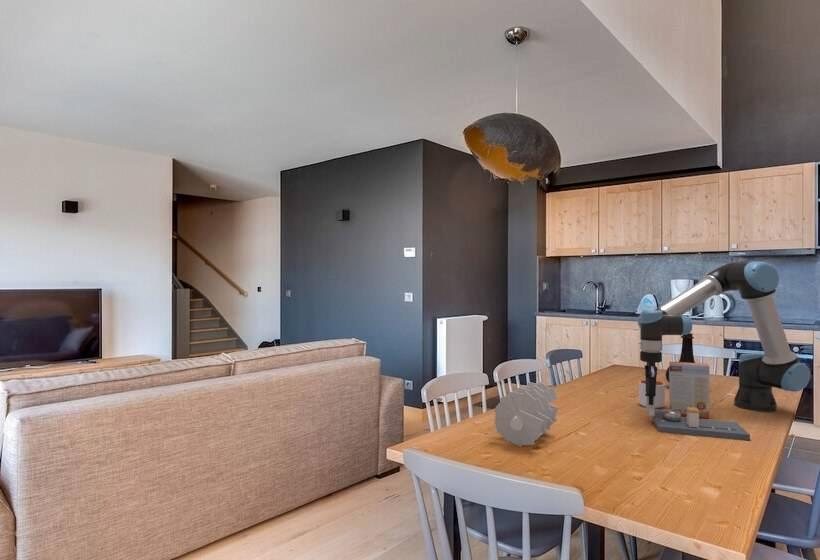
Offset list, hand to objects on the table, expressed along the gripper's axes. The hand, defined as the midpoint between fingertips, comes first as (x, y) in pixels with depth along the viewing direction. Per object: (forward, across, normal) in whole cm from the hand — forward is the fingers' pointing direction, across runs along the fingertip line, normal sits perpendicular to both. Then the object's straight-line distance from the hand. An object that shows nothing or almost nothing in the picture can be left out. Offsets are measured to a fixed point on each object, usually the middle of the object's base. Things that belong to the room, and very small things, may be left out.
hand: (650, 412), depth 190 cm
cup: (+4, -28, +4) cm, 28 cm away
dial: (+1, +2, +5) cm, 5 cm away
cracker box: (+4, -17, +16) cm, 23 cm away
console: (+4, +4, +15) cm, 16 cm away
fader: (+1, +8, +13) cm, 15 cm away
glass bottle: (+4, -70, +25) cm, 74 cm away
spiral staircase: (+4, +36, -43) cm, 56 cm away
